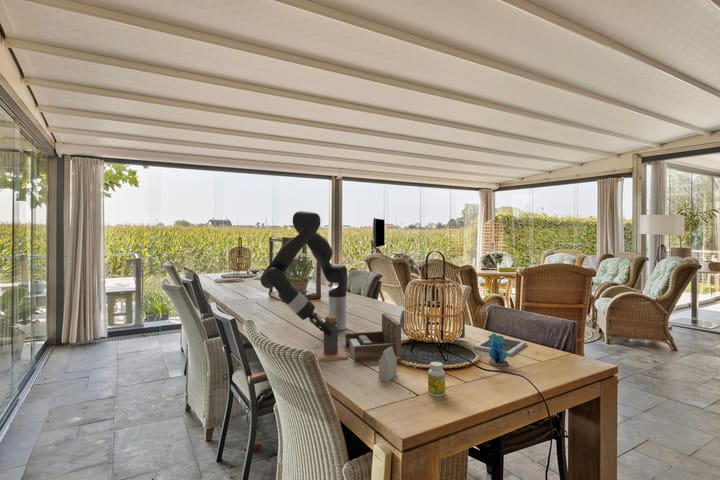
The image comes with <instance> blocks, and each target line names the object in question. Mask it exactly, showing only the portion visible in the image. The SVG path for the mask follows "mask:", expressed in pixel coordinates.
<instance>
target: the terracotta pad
mask: <svg viewBox="0 0 720 480" xmlns="http://www.w3.org/2000/svg"><path fill="white" fill-rule="evenodd" d="M314 354H315V356H316V359H317V360H318V362H322V361H323V362H324V361H337V360H349V356H348V353H347V352H346V350H344V347H338V353H337V354H334V355H327V354H324V348H319V349H318V348H317V349H315V350H314Z"/></svg>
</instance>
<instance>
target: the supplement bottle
mask: <svg viewBox="0 0 720 480" xmlns="http://www.w3.org/2000/svg"><path fill="white" fill-rule="evenodd" d="M443 366H444V363H442V362H440V361H432V362H430V363H429V369H428V371H427V393H428V394H429V395H430V396H433V397H442V396H445V395H446V371H445V370H444V367H443Z"/></svg>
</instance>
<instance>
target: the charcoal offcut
mask: <svg viewBox="0 0 720 480" xmlns="http://www.w3.org/2000/svg"><path fill="white" fill-rule="evenodd" d="M358 342H359V344H360V345H372V342H371V341H370V340H369V339H368V338H367V337H366V336H365V335H359V336H358Z"/></svg>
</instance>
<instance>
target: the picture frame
mask: <svg viewBox="0 0 720 480" xmlns="http://www.w3.org/2000/svg"><path fill="white" fill-rule="evenodd" d="M496 335H497V334H496ZM497 336H498V337H500V338H501V339H502V340H503V341H504V346H503V351H504V350H505V352H506V357H512V356H513V355H515V354H516V353H517V352H519V351H520V350H522V349H523V348H524V347H526V346H527V341H522V340H519V339H513V338H507V337H504V336H502V335H497ZM491 339H492V334H490V335H489V336H488V338H486V339H484V340H482V341H480V342H479V343H476V344H475V345H474V346H473V349H474V350H476V351H477V350H478V351H482V352H486V353H487V352H488V353H489V350H490V348H491V345H490V344H491ZM491 349H492V348H491ZM503 351H502V352H503Z"/></svg>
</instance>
